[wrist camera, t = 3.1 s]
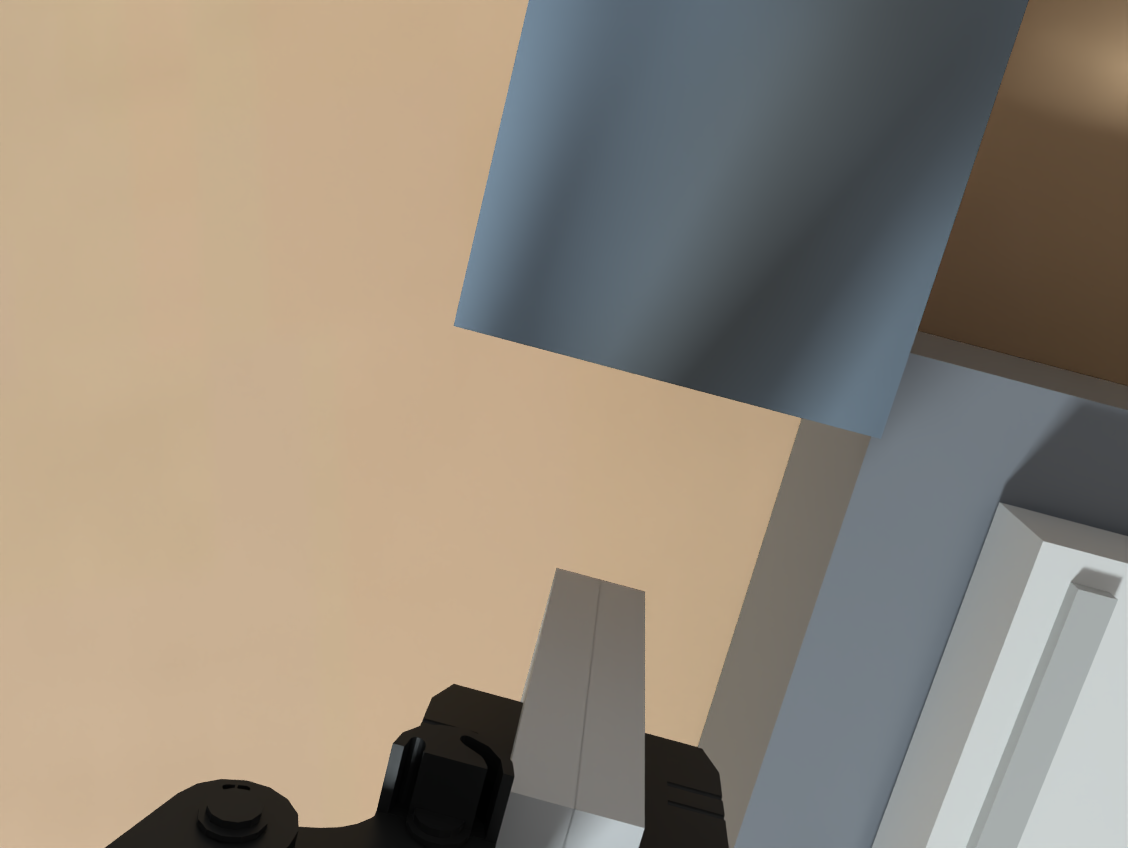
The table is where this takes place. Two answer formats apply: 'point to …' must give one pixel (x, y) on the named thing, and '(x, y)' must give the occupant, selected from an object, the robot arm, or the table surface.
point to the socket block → (890, 579)
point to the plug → (735, 190)
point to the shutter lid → (1026, 700)
